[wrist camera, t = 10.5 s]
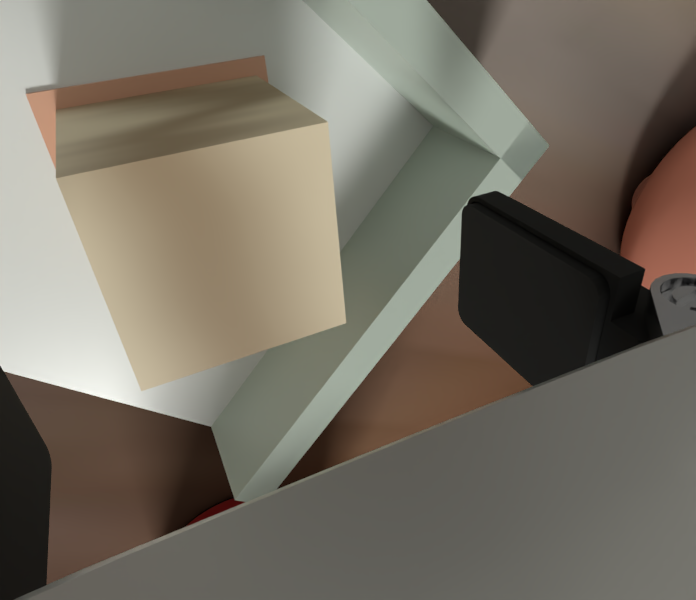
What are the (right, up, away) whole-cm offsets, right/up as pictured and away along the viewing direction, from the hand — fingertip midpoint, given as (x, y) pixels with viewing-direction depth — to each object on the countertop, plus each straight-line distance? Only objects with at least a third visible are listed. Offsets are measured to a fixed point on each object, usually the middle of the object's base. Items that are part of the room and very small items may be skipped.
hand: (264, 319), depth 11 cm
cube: (-3, +4, +4) cm, 6 cm away
